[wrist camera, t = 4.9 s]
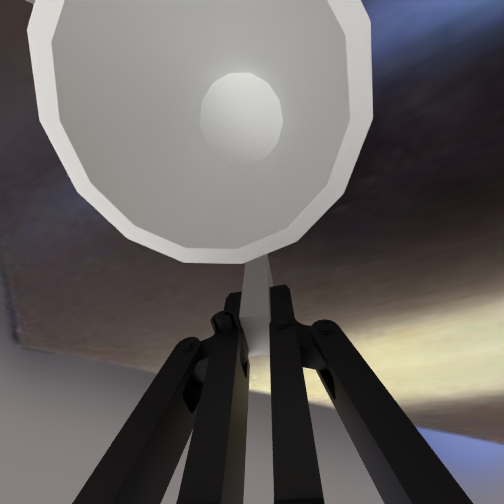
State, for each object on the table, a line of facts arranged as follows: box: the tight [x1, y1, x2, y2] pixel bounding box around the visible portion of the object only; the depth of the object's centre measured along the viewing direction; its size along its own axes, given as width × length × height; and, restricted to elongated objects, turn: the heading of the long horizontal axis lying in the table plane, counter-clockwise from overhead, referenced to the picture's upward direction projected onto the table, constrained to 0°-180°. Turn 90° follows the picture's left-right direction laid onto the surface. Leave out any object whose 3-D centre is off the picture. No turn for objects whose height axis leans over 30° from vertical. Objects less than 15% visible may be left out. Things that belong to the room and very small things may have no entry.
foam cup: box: [27, 0, 373, 264], centre depth 13 cm, size 10×9×13 cm
